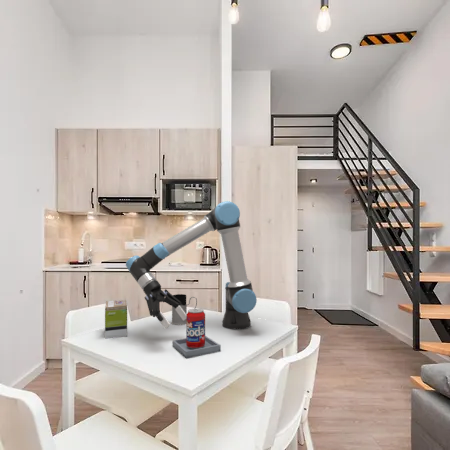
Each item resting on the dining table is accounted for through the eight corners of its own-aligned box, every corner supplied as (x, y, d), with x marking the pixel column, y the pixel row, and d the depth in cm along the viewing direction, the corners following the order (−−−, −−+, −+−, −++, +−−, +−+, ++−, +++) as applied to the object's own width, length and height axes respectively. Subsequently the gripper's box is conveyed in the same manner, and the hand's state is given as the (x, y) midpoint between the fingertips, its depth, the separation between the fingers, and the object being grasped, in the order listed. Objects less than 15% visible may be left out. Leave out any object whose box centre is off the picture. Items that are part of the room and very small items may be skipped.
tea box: (105, 330, 150) (105, 300, 151) (126, 328, 154) (126, 299, 155) (104, 339, 136) (105, 306, 137) (127, 336, 140) (127, 304, 141)
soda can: (204, 343, 128) (204, 307, 129) (205, 349, 120) (205, 312, 121) (186, 344, 127) (186, 308, 128) (186, 350, 119) (186, 312, 120)
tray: (204, 340, 134) (204, 335, 134) (220, 351, 121) (220, 345, 121) (172, 346, 126) (172, 340, 127) (186, 358, 113) (186, 351, 114)
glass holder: (170, 321, 166) (170, 294, 167) (195, 319, 170) (195, 293, 171) (172, 326, 157) (172, 297, 158) (198, 323, 162) (198, 295, 163)
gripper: (161, 286, 147) (187, 321, 140) (125, 294, 125) (153, 336, 118) (170, 276, 145) (197, 310, 138) (135, 282, 123) (164, 324, 116)
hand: (177, 322), depth 128 cm, fingers open, 13 cm apart
